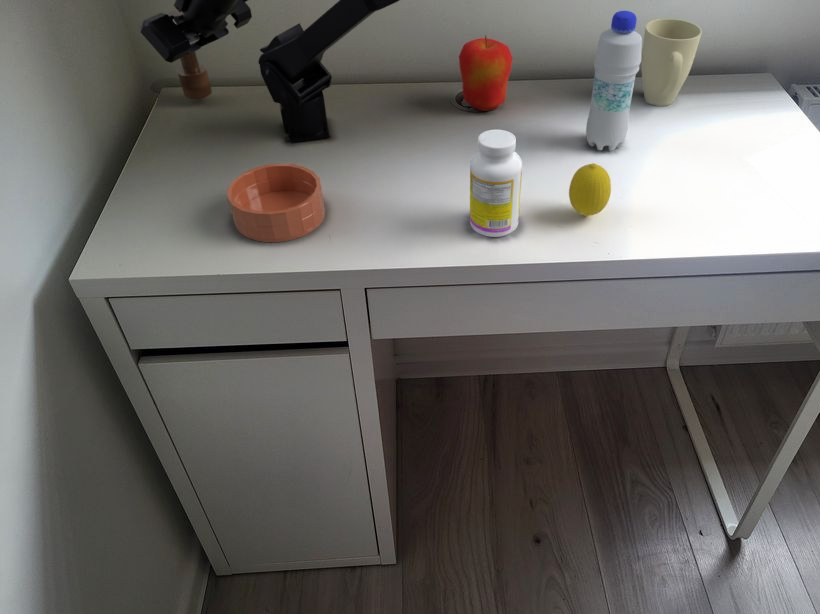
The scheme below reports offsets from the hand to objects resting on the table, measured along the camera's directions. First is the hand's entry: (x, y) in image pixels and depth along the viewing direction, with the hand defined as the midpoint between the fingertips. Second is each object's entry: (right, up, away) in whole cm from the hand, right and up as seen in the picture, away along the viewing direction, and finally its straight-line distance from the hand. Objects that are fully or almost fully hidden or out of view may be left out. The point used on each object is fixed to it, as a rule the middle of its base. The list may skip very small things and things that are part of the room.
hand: (181, 52), depth 116 cm
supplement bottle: (+51, -32, -20) cm, 63 cm away
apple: (+50, -7, +5) cm, 51 cm away
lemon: (+63, -30, -18) cm, 73 cm away
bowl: (+21, -30, -19) cm, 42 cm away
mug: (+80, -6, +6) cm, 81 cm away
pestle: (+1, -5, +4) cm, 7 cm away
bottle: (+69, -16, -4) cm, 71 cm away
